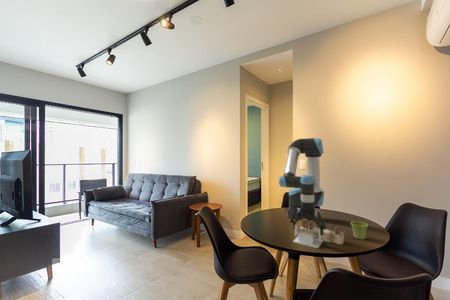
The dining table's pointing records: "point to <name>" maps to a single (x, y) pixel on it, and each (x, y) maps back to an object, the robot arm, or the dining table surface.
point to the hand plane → (325, 233)
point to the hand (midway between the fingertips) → (307, 237)
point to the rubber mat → (315, 245)
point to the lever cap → (307, 236)
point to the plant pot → (359, 229)
